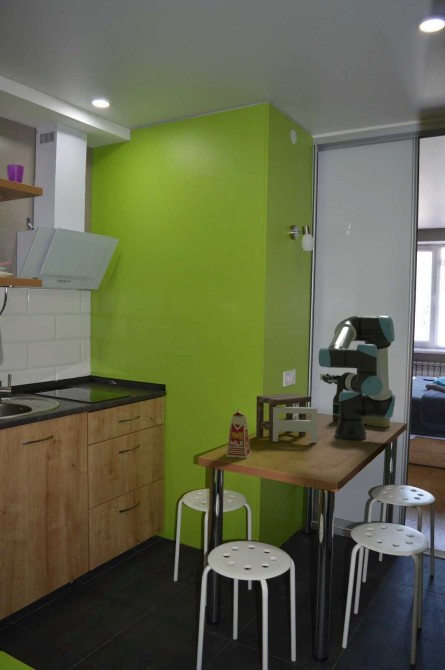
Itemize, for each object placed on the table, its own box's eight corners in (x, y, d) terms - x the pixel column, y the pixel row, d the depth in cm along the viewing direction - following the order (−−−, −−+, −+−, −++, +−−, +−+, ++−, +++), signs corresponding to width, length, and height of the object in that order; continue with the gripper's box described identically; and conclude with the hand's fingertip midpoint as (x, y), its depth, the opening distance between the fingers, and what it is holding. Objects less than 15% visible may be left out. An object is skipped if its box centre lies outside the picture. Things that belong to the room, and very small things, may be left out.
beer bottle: (338, 423, 297) (339, 381, 296) (329, 421, 303) (330, 379, 303) (349, 422, 300) (350, 380, 300) (340, 420, 307) (340, 379, 306)
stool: (310, 437, 262) (311, 396, 261) (276, 442, 249) (277, 400, 248) (289, 431, 274) (289, 393, 274) (256, 436, 262) (256, 396, 261)
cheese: (345, 424, 296) (346, 397, 296) (350, 421, 305) (351, 395, 305) (386, 428, 285) (386, 400, 285) (390, 425, 294) (390, 398, 293)
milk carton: (247, 458, 220) (247, 410, 219) (225, 457, 222) (226, 409, 221) (250, 453, 229) (251, 406, 228) (229, 451, 231) (230, 406, 230)
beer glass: (288, 420, 306) (288, 394, 305) (300, 420, 306) (300, 394, 306) (290, 422, 299) (291, 396, 298) (302, 422, 299) (303, 396, 299)
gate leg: (316, 442, 247) (317, 408, 247) (272, 441, 249) (273, 407, 249) (316, 441, 250) (316, 407, 249) (272, 440, 251) (273, 406, 251)
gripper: (338, 392, 211) (308, 385, 233) (365, 391, 215) (334, 384, 237) (338, 373, 211) (308, 368, 233) (366, 372, 215) (334, 367, 237)
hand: (321, 376), depth 235 cm, fingers closed
